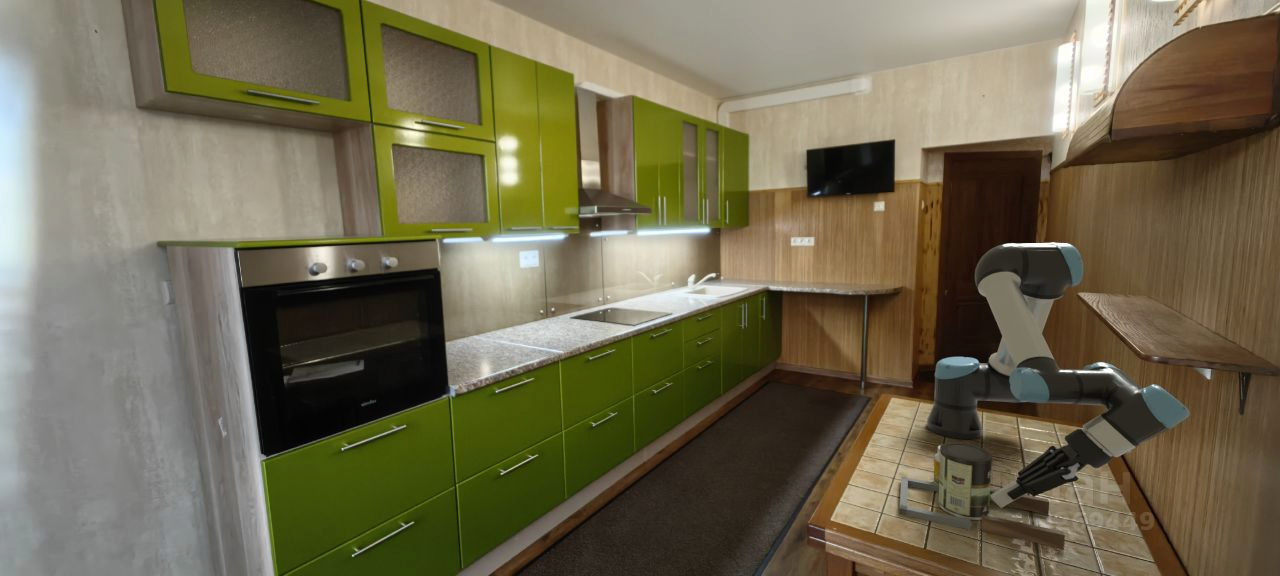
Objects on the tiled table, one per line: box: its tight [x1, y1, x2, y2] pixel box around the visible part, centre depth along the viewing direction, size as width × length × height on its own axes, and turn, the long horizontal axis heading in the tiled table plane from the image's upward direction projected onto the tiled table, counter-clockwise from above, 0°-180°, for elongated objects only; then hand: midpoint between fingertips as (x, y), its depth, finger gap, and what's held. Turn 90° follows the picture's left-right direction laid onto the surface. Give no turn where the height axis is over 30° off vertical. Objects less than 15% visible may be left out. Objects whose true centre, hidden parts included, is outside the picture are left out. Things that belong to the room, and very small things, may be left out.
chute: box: [980, 487, 1066, 550], centre depth 113 cm, size 15×14×3 cm
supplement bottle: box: [933, 444, 942, 483], centre depth 129 cm, size 5×5×10 cm
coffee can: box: [937, 441, 994, 521], centre depth 118 cm, size 10×10×14 cm
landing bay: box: [899, 475, 972, 531], centre depth 121 cm, size 16×14×2 cm
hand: (995, 501), depth 114 cm, fingers closed
